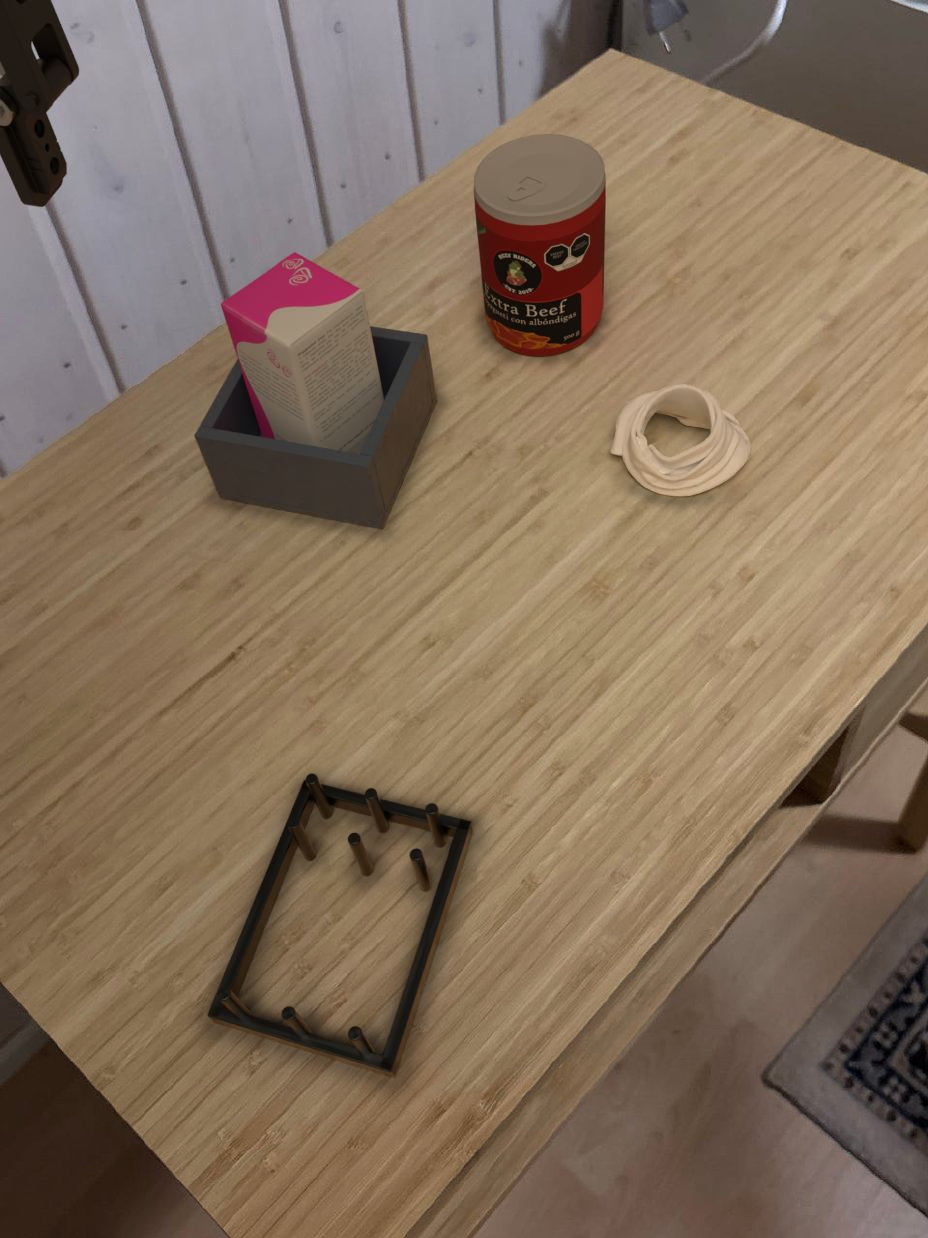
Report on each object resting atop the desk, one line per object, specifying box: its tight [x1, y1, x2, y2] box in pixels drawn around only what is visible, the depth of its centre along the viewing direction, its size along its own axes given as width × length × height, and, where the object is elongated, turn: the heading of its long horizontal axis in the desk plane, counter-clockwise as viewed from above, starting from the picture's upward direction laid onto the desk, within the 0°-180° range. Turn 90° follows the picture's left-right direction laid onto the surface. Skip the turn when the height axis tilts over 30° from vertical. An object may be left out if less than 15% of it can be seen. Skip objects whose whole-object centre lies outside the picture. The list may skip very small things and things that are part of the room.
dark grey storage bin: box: [194, 325, 438, 530], centre depth 69 cm, size 11×11×6 cm
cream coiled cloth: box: [609, 383, 752, 497], centre depth 67 cm, size 8×7×5 cm
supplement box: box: [220, 251, 384, 454], centre depth 66 cm, size 6×6×11 cm
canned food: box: [473, 133, 607, 357], centre depth 71 cm, size 8×8×11 cm
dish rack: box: [207, 772, 474, 1079], centre depth 53 cm, size 12×9×4 cm
